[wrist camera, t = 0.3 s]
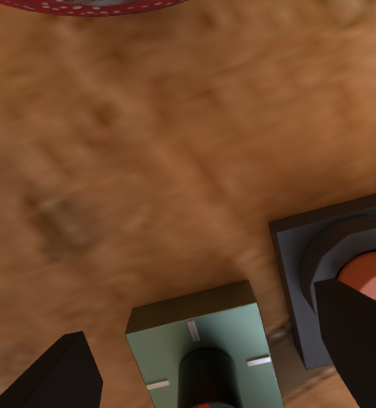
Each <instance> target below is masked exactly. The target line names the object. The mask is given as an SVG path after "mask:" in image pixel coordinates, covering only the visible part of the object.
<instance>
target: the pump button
mask: <svg viewBox="0 0 376 408" xmlns="http://www.w3.org/2000/svg"><path fill="white" fill-rule="evenodd" d="M337 280H339V281H341V282H343V283H345V284H347V285H349V286H350V287H352V288H354V289H356V290H358V291H359V292H361V293H363V294H365V295H367V296H369V297H370V298H372V299H374V300H376V252H368V253H364V254H361V255H358V256H356V257H355V258H353V259H351V260H350V261H349V262H348V263H347V264H346V265H345V266H344V267H343V268H342V270H341V271H340V273H339V275H338V278H337Z"/></svg>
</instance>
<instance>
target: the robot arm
mask: <svg viewBox="0 0 376 408" xmlns="http://www.w3.org/2000/svg"><path fill="white" fill-rule="evenodd" d="M313 283H314V290H315V297H316V304H317V311H318V318H319V325H320V332H321V339H322V341H323V343H324V345H325V347H326V349H327V351H328V353H329V356H330V358H331V360H332V362H333V364H334V366H335V368H336V370H337V372H338V373H339V375H340V377H341V378H342V380H343V381H344V383H345V385H346V386H347V388H348V390H349V391H350V393H351V394H352V396H353V398H354V399H355V401H356V402H357V404H358V406H359V407H360V408H376V300H374V299H372V298H370V297H369V296H367V295H365V294H363V293H361V292H359V291H358V290H356V289H354V288H352V287H350V286H349V285H347V284H345V283H343V282H341V281H339V280H337V279H335V278H331V279H326V280H321V281H317V282H313ZM102 386H103V380H102V377H101V375H100V373H99V370H98V368H97V365H96V363H95V360H94V358H93V355H92V353H91V350H90V348H89V345H88V343H87V340H86V338H85V335H84V333H83V331H79V332H75V333H70V334H65V335H63V336H62V337H61V338H60V339H58V340H57V341H56V342H55V343H54V344H53V345H52V346H51V347H50V348H49V349H48V350H47V351H46V352H44V353H43V354H42V355H41V356H40V357H39V358H38V359H37V360H36V361H35V362H34V363H33V364H32V365H31V366H30V367H29V368H28V369H27V370H26V371H25V372H24V373H23V374H22V375H21V376H20V377H19V378H18V379H17V380H16V381H15V382H14V383H13V384H12V385H11V386H10V387H9V388H8V389H6V390H5V391H4V392H3V393H2V394H1V395H0V408H99V406H100V400H101V393H102Z"/></svg>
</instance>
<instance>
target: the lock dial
mask: <svg viewBox="0 0 376 408" xmlns="http://www.w3.org/2000/svg"><path fill="white" fill-rule="evenodd" d="M177 408H244V403H243V398H242V393H241V388H240V383H239V378H238V372H237V368H236V365H235V363H234V361H233V360H232V359H231V358H230V357H229V356H228V355H227V354H225V353H223V352H221V351H218V350H214V349H203V350H198V351H195V352H193V353H191V354H190V355H188V356H187V357H186V358H185V359H184V360H183V361H182V363H181V365H180V367H179V371H178V399H177Z"/></svg>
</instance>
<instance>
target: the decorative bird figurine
mask: <svg viewBox="0 0 376 408" xmlns="http://www.w3.org/2000/svg"><path fill="white" fill-rule="evenodd" d="M185 1H187V0H0V4H3V5H6V6H10V7H14V8H18V9H22V10H26V11H32V12H38V13H45V14H52V15H60V16H80V17H104V16H117V15H127V14H136V13H142V12H148V11H153V10H157V9H162V8H166V7H169V6H173V5H176V4H179V3H182V2H185Z"/></svg>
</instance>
